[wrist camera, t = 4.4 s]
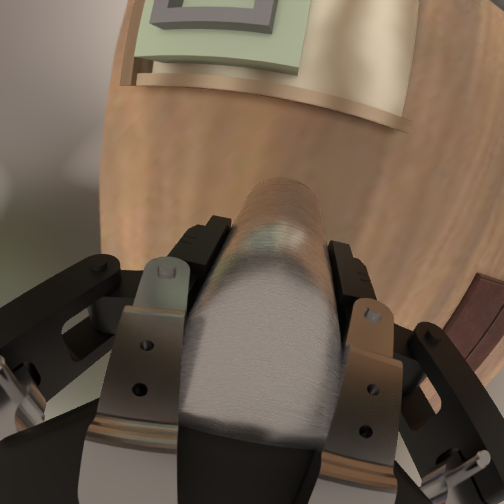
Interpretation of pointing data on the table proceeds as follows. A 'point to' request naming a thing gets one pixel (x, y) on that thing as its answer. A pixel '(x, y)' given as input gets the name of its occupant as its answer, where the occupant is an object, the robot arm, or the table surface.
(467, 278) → the table surface
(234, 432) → the handle
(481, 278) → the notebook
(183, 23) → the green stepped block
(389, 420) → the robot arm
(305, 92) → the bay
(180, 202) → the table surface
